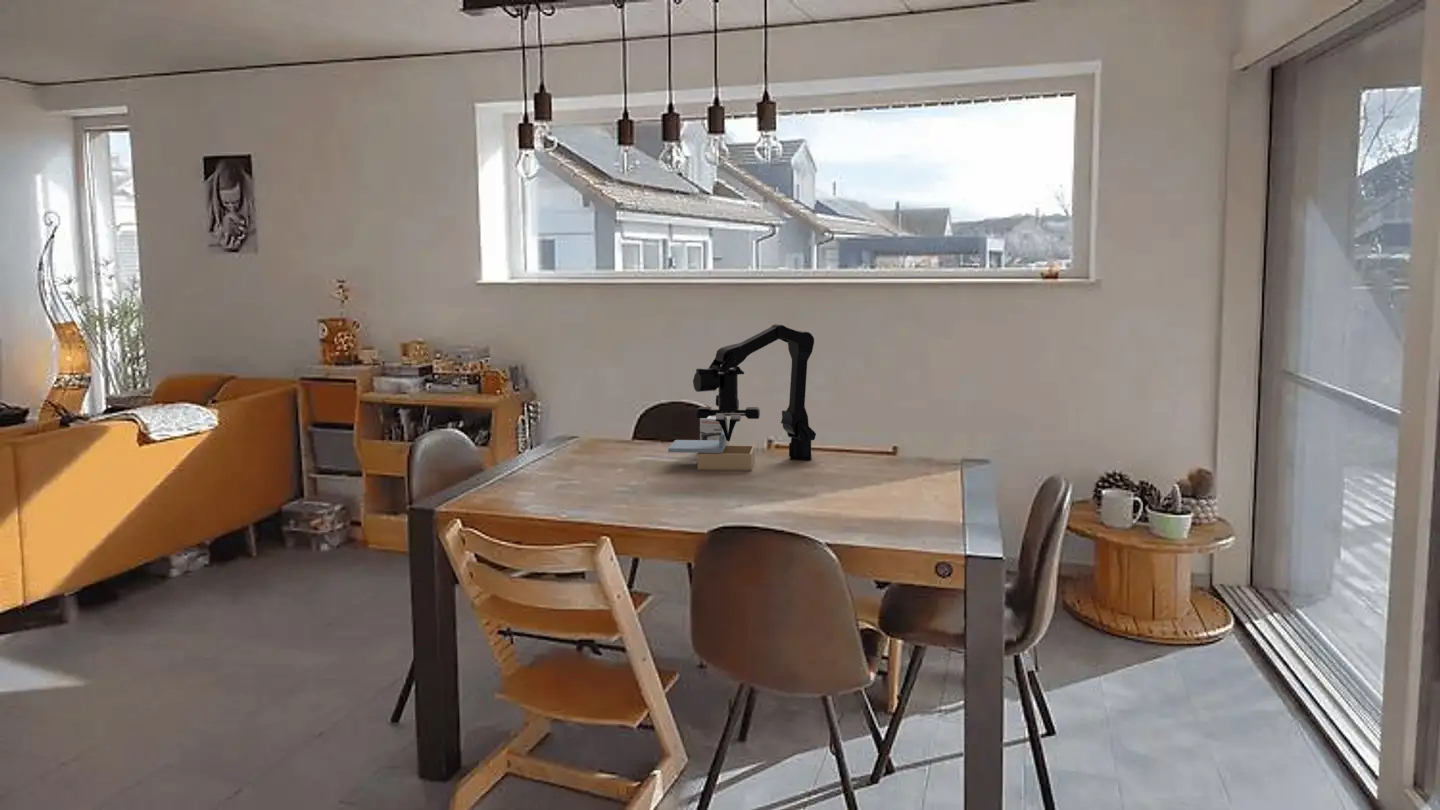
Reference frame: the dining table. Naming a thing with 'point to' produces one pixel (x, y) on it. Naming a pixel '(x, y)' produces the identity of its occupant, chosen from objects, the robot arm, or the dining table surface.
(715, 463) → the tan shallow open box
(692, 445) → the lid
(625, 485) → the dining table surface
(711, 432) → the ink box
